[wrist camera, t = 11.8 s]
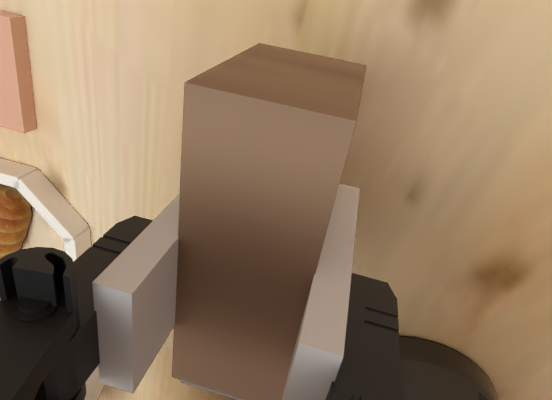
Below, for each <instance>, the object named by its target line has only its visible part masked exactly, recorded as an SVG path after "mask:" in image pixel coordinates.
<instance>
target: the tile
mask: <svg viewBox="0 0 552 400" xmlns="http://www.w3.org/2000/svg"><path fill="white" fill-rule="evenodd" d="M0 127H3V128H6V129H10V130H14V131H17V132H21V133H26V132H29V131H31V130H34V129H36V128H37V123H36V113H35V104H34V95H33V86H32V77H31V68H30V59H29V50H28V41H27V32H26V23H25V17H24V16H20V15H16V14H12V13H8V12H4V11H0Z"/></svg>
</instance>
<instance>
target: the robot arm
mask: <svg viewBox="0 0 552 400" xmlns="http://www.w3.org/2000/svg"><path fill="white" fill-rule="evenodd" d="M359 193H360V188H356V187H352V186H348V185H344V184H339V188H338V192H337V195H336V199H335V203H334V207H333V210H332V214H331V218H330V221H329V225H328V229H327V233H326V236H325V240H324V244H323V248H322V251H321V255H320V259H319V262H318V266H317V270H316V274H314V277H313V281H312V285H311V289H310V293H309V296H308V300H307V304H306V308H305V311H304V315H303V319H302V323H301V326H300V330H299V334H298V338H297V341H296V345H295V349H294V353H293V356H292V360H291V364H290V369H289V373H288V377H287V381H286V385H285V390H284V394H283V398H282V400H498V398H497V394H496V391H495V389H494V387H493V385H492V383H491V381H490V380H489V378H488V377H487V376H486V374H485V373H484V372H483V371H482V370H481V369H480V368H479V367H478V366H477V365H476V364H474V363H473V362H472V361H471V360H469V359H468V358H466V357H465V356H463V355H461V354H460V353H458V352H456V351H454V350H452V349H450V348H447V347H445V346H442V345H440V344H437V343H434V342H430V341H426V340H421V339H416V338H409V337H399V333H398V330H399V326H398V319H397V317H398V308H397V298H396V297H395V295H394V293H393V291H392V290H391V288H390V286H389V284H388V283H387V282H383V281H379V280H375V279H372V278H368V277H364V276H361V275H357V274H353V273H352V265H353V254H354V244H355V234H356V224H357V214H358V204H359ZM179 201H180V194H179V195H178V196H177V197H176V198H175V199H174V200H173V201H172V202H171V203H170V204H169V205H168V206H167V207H166V208H165V209H164V210H163V211H162V212H161V213H160V214H159V215H158V216H157V217H156V218H155V219H154V220H153V221H152V220H149V219H145V218H141V217H138V216H133V217H131V218H129V219H126V220H124V221H121V222H119V223H117V224H116V225H114V226H113V227H112V228H111V229H110V230H109V231H108V232H106V233H105V234H104V236H103V238H102V237H101V238H100V239H99V240H97V241H96V242H95V243H94V244H93V246H92V247H89V248H88V249H87V250H86V251H85V252H84V253H83V254H82V255H80V256H79V257H78V258H77V259H76V260H75V261H74V262H73V259H72V258H71V257H70V256H69V255H68V254H67V253H65V252H63V251H60V250H57V249H54V248H44V247H35V248H28V249H22V250H19V251H16V252H13V253H10V254H8V255H5V256H3V257H2V258H0V400H84V399H85V396H86V383H85V382H86V381H87V379H88V378H89V377H90V375H91V374H92V373H93V371H94V370H95V369H96V367H97V366H98V369H99V382H100V383H102V384H105V385H108V386H111V387H114V388H117V389H120V390H123V391H127V392H130V393H134V391H135V390H136V388H137V386H138V385H139V383H140V381H141V380H142V378H143V377H144V375H145V373H146V372H147V370H148V368H149V367H150V365H151V363H152V362H153V360H154V359H155V357H156V355H157V354H158V352H159V350H160V349H161V347H162V345H163V344H164V342H165V341H166V339H167V337H168V336H169V334H170V332H171V331H172V329H173V327H174V326H175V308H176V286H177V263H178V240H179V237H178V224H179Z"/></svg>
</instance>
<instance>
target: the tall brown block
mask: <svg viewBox="0 0 552 400" xmlns="http://www.w3.org/2000/svg"><path fill="white" fill-rule="evenodd" d="M365 70H366V65H362V64H357V63H352V62H347V61H342V60H338V59H333V58H328V57H323V56H318V55H314V54H309V53H304V52H299V51H294V50H290V49H285V48H280V47H275V46H270V45H266V44H261V43H259V44H257V45H255V46H253V47H251V48H249V49H247V50H245V51H244V52H242V53H240V54H238V55H236V56H234V57H232V58H230V59H228V60H226V61H225V62H223V63H221V64H219V65H217V66H215V67H213V68H211V69H209V70H207V71H205V72H204V73H202V74H200V75H198V76H196V77H194V78H192V79H190V80H188V81H186V82H185V85H184V108H183V131H182V154H181V177H180V201H179V224H178V237H179V240H178V263H177V286H176V308H175V326H174V339H173V362H172V377H174V378H177V379H180V380H181V382H182V383H185V384H188V385H191V386H195V387H198V388H201V389H204V390H207V391H210V392H214V393H217V394H220V395H223V396H226V397H229V398H232V399H236V400H282V398H283V394H284V390H285V385H286V381H287V377H288V373H289V369H290V364H291V360H292V356H293V353H294V349H295V345H296V341H297V338H298V334H299V330H300V326H301V323H302V319H303V315H304V311H305V308H306V304H307V300H308V296H309V293H310V289H311V285H312V281H313V277H314V274H316V270H317V266H318V262H319V259H320V255H321V251H322V248H323V244H324V240H325V236H326V233H327V229H328V225H329V221H330V218H331V214H332V210H333V207H334V203H335V199H336V195H337V192H338V188H339V184H340V180H341V177H342V173H343V169H344V165H345V162H346V158H347V154H348V151H349V147H350V143H351V139H352V136H353V132H354V128H355V124H356V120H357V115H358V109H359V104H360V98H361V93H362V87H363V82H364V76H365Z"/></svg>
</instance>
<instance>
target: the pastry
mask: <svg viewBox="0 0 552 400" xmlns="http://www.w3.org/2000/svg"><path fill="white" fill-rule="evenodd" d="M31 217H32V213H31V204H30V203H29V202H28V201H27V200H26V199H25V197H24V196H23V195H22V194H21V193H20V192H19V191H18V190H17V189H16V188H14V187H11V186H7V185H3V184H0V258H2V257H3V256H5V255H8V254H10V253H13V252H16V251H18V250H19V249H20V248H21V246H22V243H23V241H24V239H25V236H26V234H27V230H28V227H29V224H30V221H31Z"/></svg>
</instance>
